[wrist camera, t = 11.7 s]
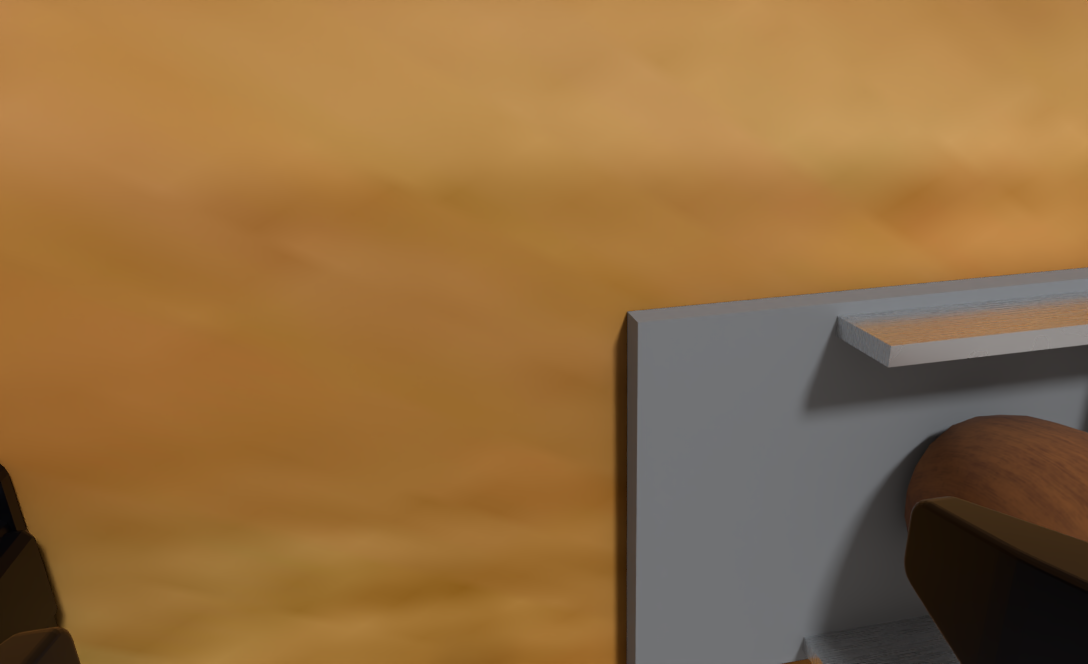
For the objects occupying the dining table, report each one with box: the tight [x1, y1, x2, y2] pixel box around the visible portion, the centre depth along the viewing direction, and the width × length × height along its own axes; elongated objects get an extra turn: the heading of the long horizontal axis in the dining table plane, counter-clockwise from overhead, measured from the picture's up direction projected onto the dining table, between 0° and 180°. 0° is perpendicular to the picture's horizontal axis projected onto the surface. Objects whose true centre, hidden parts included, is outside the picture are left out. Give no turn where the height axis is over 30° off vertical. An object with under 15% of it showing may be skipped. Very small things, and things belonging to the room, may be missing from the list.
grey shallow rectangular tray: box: [627, 268, 1088, 664], centre depth 23 cm, size 17×13×4 cm
